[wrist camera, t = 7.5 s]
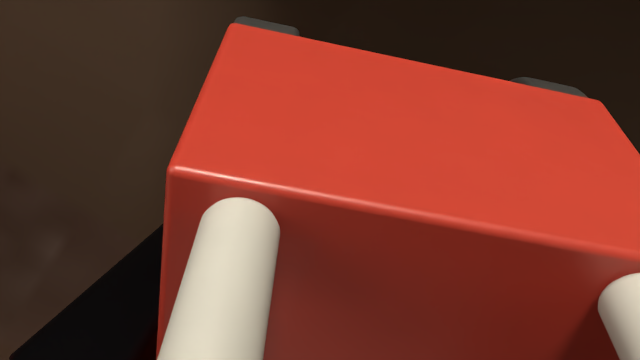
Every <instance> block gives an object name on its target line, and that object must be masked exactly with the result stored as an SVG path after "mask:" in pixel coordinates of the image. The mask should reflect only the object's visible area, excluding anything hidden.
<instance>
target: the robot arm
mask: <svg viewBox="0 0 640 360" xmlns="http://www.w3.org/2000/svg"><path fill="white" fill-rule="evenodd" d="M163 224H164V223H163ZM163 224H162V225H161V226H160V227H159V228H158V229H156V230H155V231H154V232H153V233H152V234H151V235H150V236H148V237H147V238H146V239H145V240H144V241H143V242H141V243H140V244H139V245H138V246H137V247H136V248H134V249H133V250H132V251H131V252H130V253H129V254H127V255H126V256H125V257H124V258H123V259H122V260H121V261H119V262H118V263H117V264H116V265H115V266H114V267H112V268H111V269H110V270H109V271H108V272H107V273H105V274H104V275H103V276H102V277H101V278H100V279H98V280H97V281H96V282H95V283H94V284H93V285H92V286H90V287H89V288H88V289H87V290H86V291H85V292H83V293H82V294H81V295H80V296H79V297H78V298H76V299H75V300H74V301H73V302H72V303H71V304H69V305H68V306H67V307H66V308H65V309H64V310H63V311H61V312H60V313H59V314H58V315H57V316H56V317H54V318H53V319H52V320H51V321H50V322H49V323H47V324H46V325H45V326H44V327H43V328H42V329H40V330H39V331H38V332H37V333H36V334H35V335H34V336H32V337H31V338H30V339H29V340H28V341H27V342H25V343H24V344H23V345H22V346H21V347H20V348H18V349H17V350H16V351H15V352H14V353H13V354H11V356H10V358H9V359H10V360H156V350H157V332H158V314H159V296H160V278H161V260H162V242H163Z"/></svg>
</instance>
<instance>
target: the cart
mask: <svg viewBox="0 0 640 360" xmlns="http://www.w3.org/2000/svg"><path fill="white" fill-rule="evenodd" d="M156 360H640V154H639V153H638V151H637V150H636V149H635V147H634V146H633V145H632V143H631V142H630V140H629V139H628V138H627V136H626V135H625V134H624V132H623V131H622V129H621V128H620V127H619V125H618V124H617V123H616V121H615V120H614V119H613V117H612V116H611V114H610V113H609V112H608V110H607V109H606V108H605V106H604V105H603V104H602V103H601V102H600V101H599V100H595V99H590V98H588V97H587V96H586V95H585V94H584V93H582V92H581V91H580V90H578V89H577V88H574V87H571V86H566V85H562V84H557V83H552V82H548V81H543V80H538V79H534V78H529V77H520V78H515V79H512V80H510V81H505V80H501V79H496V78H491V77H487V76H482V75H477V74H473V73H468V72H463V71H458V70H454V69H449V68H444V67H440V66H435V65H430V64H426V63H421V62H416V61H411V60H407V59H402V58H397V57H393V56H388V55H383V54H379V53H374V52H369V51H365V50H360V49H355V48H350V47H346V46H341V45H336V44H332V43H327V42H322V41H318V40H313V39H308V38H304V37H300V34H299V30H297V29H296V28H295V27H291V26H287V25H282V24H277V23H273V22H268V21H263V20H259V19H254V18H249V17H245V16H242V17H238V18H236V19H235V21H234V23H232V24H230V25H229V27H228V28H227V31H226V33H225V35H224V38H223V40H222V42H221V45H220V47H219V49H218V52H217V54H216V56H215V59H214V61H213V63H212V65H211V68H210V70H209V72H208V75H207V77H206V79H205V82H204V84H203V86H202V89H201V91H200V93H199V96H198V98H197V100H196V103H195V105H194V107H193V109H192V112H191V114H190V116H189V119H188V121H187V123H186V126H185V128H184V130H183V133H182V135H181V137H180V140H179V142H178V144H177V146H176V149H175V151H174V153H173V156H172V158H171V160H170V163H169V165H168V167H167V170H166V188H165V206H164V224H163V242H162V260H161V278H160V296H159V314H158V332H157V350H156Z"/></svg>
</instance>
